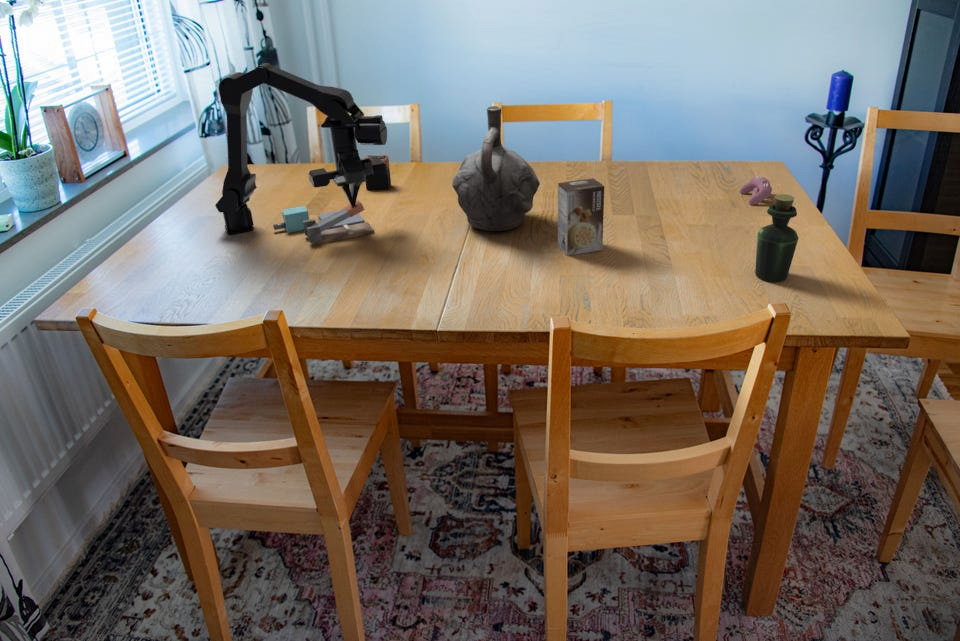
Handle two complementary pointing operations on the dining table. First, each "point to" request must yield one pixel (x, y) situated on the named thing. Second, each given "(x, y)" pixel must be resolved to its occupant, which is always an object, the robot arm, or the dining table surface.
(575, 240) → the coffee box
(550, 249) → the dining table surface
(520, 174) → the vessel
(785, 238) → the potion bottle
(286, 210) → the plug
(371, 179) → the battery
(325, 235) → the base
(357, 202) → the cutter lever
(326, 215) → the mat
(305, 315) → the dining table surface
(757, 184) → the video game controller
